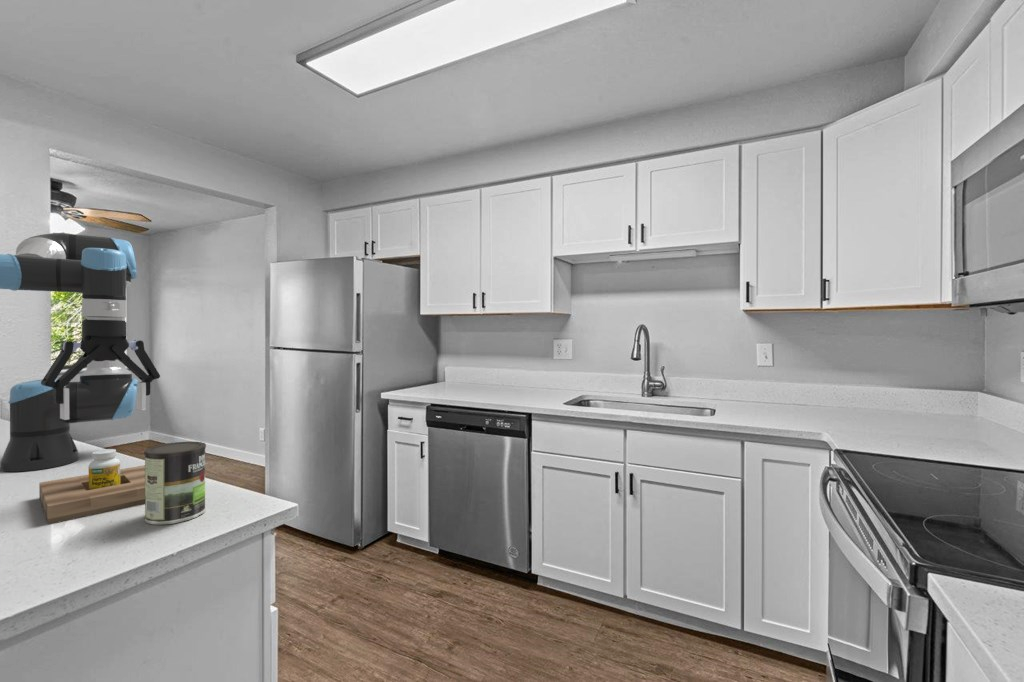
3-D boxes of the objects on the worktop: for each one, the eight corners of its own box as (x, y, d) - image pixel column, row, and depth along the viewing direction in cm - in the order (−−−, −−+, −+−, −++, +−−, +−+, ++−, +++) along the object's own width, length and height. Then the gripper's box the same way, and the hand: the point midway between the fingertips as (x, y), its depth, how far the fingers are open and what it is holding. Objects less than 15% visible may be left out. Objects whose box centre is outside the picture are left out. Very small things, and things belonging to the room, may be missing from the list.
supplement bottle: (122, 488, 109) (121, 446, 109) (118, 495, 105) (118, 452, 104) (91, 492, 106) (90, 450, 106) (86, 499, 102) (86, 455, 101)
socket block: (39, 498, 105) (39, 482, 105) (150, 478, 120) (150, 464, 120) (47, 524, 92) (47, 506, 91) (172, 497, 107) (171, 482, 106)
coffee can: (214, 504, 103) (214, 440, 103) (190, 523, 93) (190, 452, 93) (162, 506, 101) (162, 441, 101) (132, 526, 91) (131, 454, 91)
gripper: (32, 317, 92) (33, 425, 93) (176, 320, 114) (176, 408, 114) (20, 317, 96) (21, 420, 97) (161, 320, 117) (161, 405, 118)
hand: (105, 414), depth 106 cm, fingers open, 13 cm apart
